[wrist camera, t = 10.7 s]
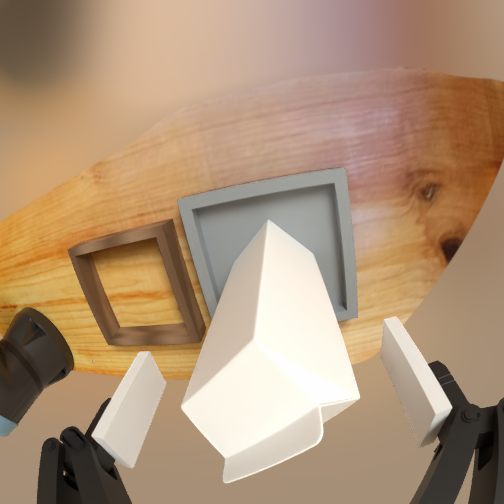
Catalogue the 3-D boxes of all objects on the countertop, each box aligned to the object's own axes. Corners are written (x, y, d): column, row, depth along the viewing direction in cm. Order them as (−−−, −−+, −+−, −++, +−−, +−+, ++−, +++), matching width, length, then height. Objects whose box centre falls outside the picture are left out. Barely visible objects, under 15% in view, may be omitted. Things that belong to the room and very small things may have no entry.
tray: (221, 326, 33) (217, 338, 30) (184, 196, 28) (177, 200, 25) (352, 306, 30) (357, 317, 28) (339, 167, 25) (344, 168, 23)
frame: (117, 333, 35) (108, 345, 32) (81, 242, 31) (67, 249, 28) (206, 327, 33) (200, 342, 30) (172, 218, 29) (161, 225, 26)
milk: (313, 253, 28) (380, 454, 7) (277, 294, 30) (276, 498, 9) (267, 217, 27) (248, 407, 6) (231, 262, 29) (161, 461, 8)
